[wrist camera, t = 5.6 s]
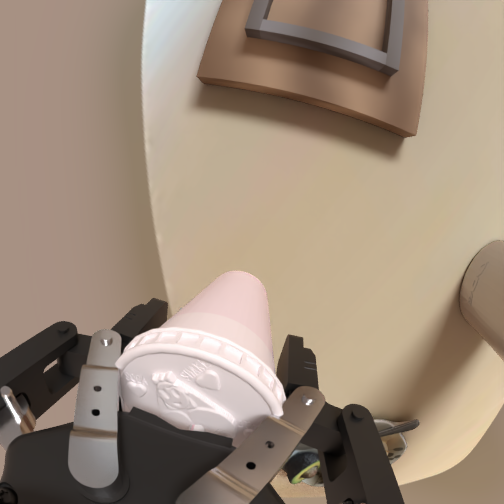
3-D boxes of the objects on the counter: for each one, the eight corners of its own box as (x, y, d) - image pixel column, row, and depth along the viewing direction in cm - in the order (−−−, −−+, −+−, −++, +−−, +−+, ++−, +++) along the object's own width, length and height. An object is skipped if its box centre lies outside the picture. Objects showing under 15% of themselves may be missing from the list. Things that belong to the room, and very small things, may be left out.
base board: (418, -15, 12) (432, -31, 9) (405, 137, 18) (425, 133, 14) (256, -58, 13) (253, -79, 9) (203, 83, 18) (189, 69, 15)
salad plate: (400, 380, 25) (413, 409, 20) (427, 438, 28) (435, 460, 24) (255, 441, 30) (252, 469, 25) (316, 483, 33) (317, 505, 28)
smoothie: (214, 349, 19) (137, 532, 5) (172, 268, 17) (9, 430, 4) (302, 325, 17) (304, 552, 4) (267, 233, 16) (184, 475, 3)
